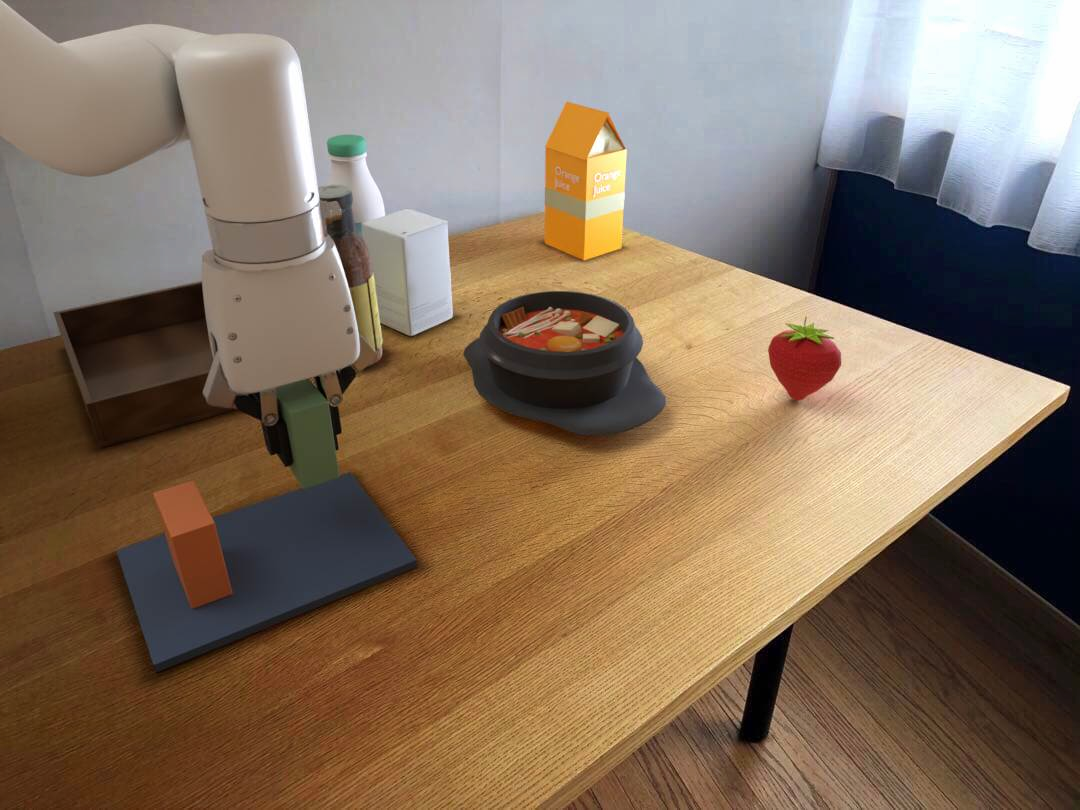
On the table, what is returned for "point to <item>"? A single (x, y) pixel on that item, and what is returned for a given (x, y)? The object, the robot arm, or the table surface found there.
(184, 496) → the block
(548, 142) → the orange juice
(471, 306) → the table surface
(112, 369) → the tray
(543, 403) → the casserole
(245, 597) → the mat
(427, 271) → the white packaging box
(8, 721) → the table surface
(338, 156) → the milk bottle
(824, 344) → the strawberry
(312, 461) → the block
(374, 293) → the sauce bottle
